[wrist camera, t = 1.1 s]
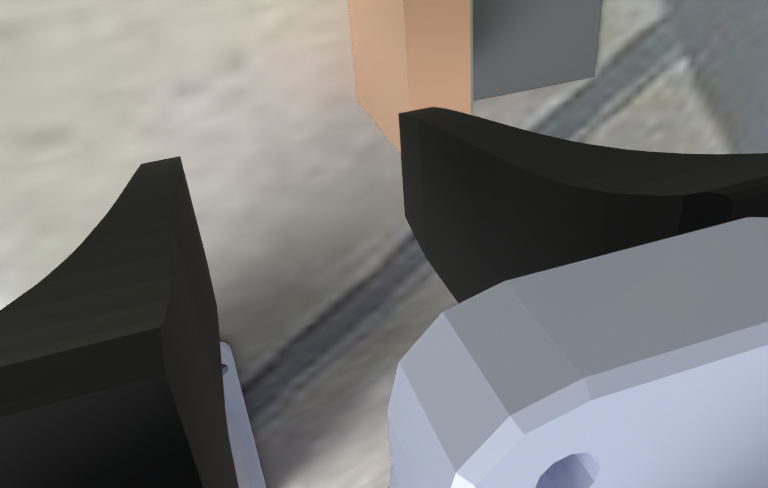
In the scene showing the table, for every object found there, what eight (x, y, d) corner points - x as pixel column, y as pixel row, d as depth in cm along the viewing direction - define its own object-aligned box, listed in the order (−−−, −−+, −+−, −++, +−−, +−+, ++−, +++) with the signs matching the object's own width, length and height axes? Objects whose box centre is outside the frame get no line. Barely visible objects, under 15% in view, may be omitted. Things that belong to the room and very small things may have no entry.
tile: (410, 91, 22) (476, 154, 18) (357, 102, 22) (412, 168, 18) (400, -81, 19) (476, -52, 15) (340, -73, 19) (400, -42, 15)
